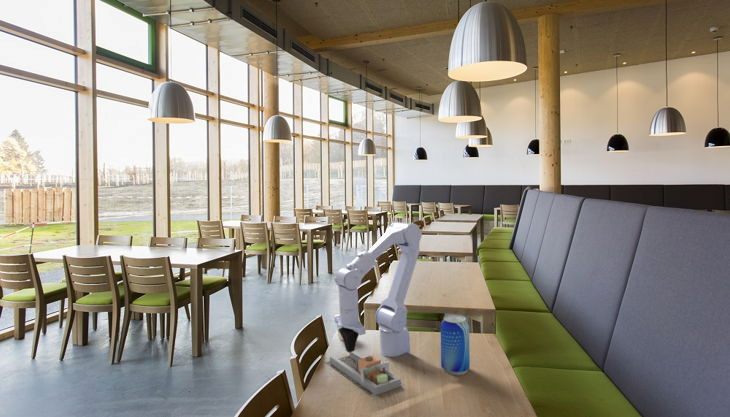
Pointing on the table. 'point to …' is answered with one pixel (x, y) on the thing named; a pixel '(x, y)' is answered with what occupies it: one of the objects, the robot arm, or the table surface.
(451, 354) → the beer can
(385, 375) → the pale green cube
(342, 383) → the table surface
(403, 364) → the table surface
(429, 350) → the table surface
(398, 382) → the gray divided tray
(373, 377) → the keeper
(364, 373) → the gate
